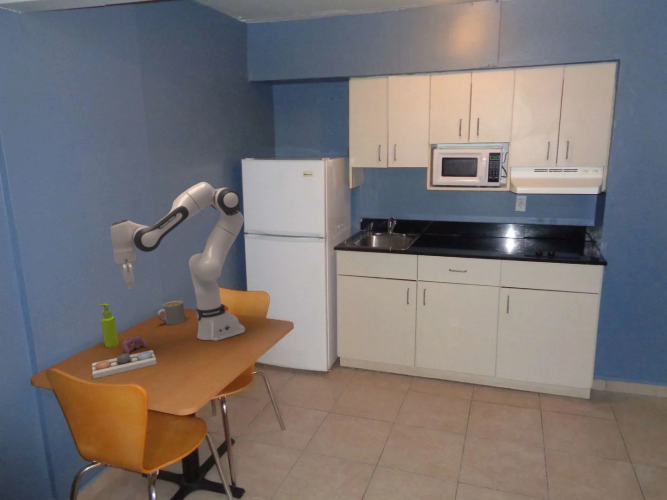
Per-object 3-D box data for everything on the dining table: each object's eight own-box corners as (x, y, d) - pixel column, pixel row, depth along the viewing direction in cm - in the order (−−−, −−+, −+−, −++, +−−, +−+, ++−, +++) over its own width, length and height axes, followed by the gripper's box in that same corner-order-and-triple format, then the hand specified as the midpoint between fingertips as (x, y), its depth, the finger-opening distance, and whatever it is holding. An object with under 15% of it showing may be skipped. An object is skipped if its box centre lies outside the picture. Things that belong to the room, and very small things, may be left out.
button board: (153, 354, 213) (152, 350, 212) (156, 364, 202) (156, 359, 202) (92, 367, 202) (92, 363, 202) (93, 378, 192) (92, 374, 191)
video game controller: (144, 348, 224) (138, 334, 224) (148, 346, 221) (143, 332, 221) (124, 356, 216) (118, 342, 217) (128, 354, 213) (122, 339, 214)
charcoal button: (130, 359, 205) (129, 352, 204) (131, 363, 201) (130, 356, 200) (117, 361, 203) (116, 355, 202) (118, 366, 198) (117, 359, 198)
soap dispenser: (108, 342, 230) (102, 302, 226) (121, 342, 229) (115, 302, 225) (100, 347, 225) (93, 306, 221) (113, 347, 223) (106, 306, 219)
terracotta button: (110, 366, 202) (108, 359, 201) (110, 370, 197) (109, 364, 197) (96, 369, 200) (95, 362, 199) (97, 373, 195) (95, 367, 195)
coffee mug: (184, 317, 260) (181, 299, 258) (186, 322, 251) (184, 304, 249) (157, 322, 255) (155, 304, 253) (159, 327, 246) (156, 309, 244)
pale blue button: (150, 357, 209) (149, 350, 208) (151, 361, 204) (150, 354, 204) (138, 360, 207) (137, 353, 206) (139, 364, 202) (138, 357, 202)
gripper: (135, 260, 201) (139, 292, 204) (131, 253, 219) (135, 282, 222) (118, 263, 198) (123, 295, 201) (116, 255, 216) (120, 284, 219)
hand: (129, 288), depth 212 cm, fingers closed
